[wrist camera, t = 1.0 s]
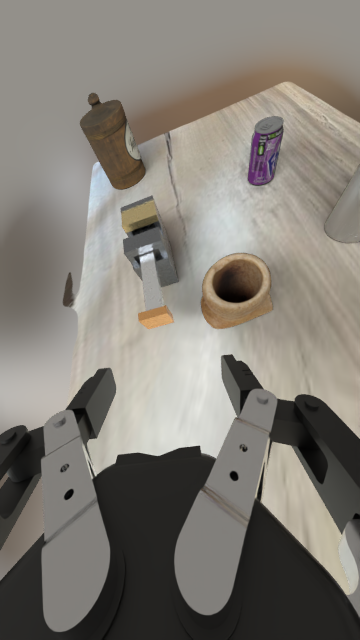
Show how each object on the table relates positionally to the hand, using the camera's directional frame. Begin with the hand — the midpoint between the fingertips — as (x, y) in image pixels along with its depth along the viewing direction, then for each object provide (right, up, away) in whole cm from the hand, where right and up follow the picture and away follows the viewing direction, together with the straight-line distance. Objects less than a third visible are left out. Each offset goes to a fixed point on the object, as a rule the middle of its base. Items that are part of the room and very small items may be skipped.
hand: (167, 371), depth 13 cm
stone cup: (+14, +6, +26) cm, 30 cm away
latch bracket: (-5, +19, +36) cm, 41 cm away
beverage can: (+25, +46, +40) cm, 65 cm away
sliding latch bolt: (-4, +10, +23) cm, 26 cm away
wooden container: (-20, +61, +58) cm, 87 cm away
